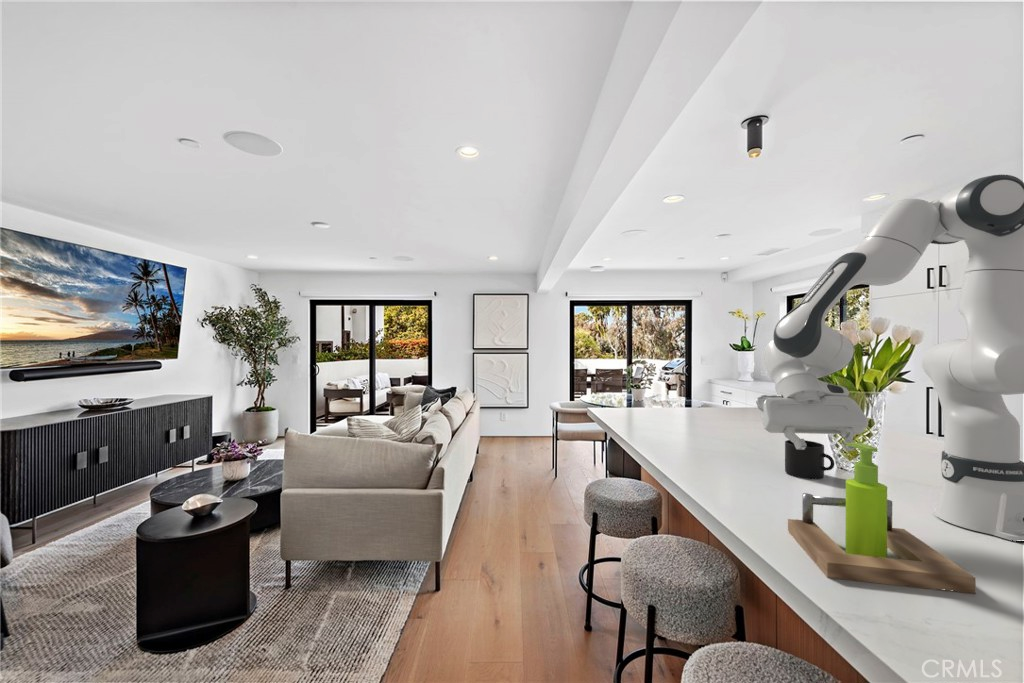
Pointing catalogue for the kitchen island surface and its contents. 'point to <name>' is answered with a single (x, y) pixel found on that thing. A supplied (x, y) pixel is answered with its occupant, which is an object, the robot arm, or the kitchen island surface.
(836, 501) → the steel rail
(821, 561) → the walnut board
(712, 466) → the kitchen island surface
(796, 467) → the mug
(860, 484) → the soap dispenser
